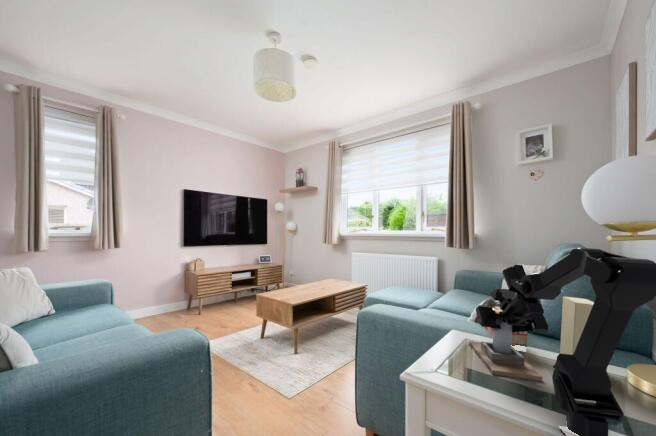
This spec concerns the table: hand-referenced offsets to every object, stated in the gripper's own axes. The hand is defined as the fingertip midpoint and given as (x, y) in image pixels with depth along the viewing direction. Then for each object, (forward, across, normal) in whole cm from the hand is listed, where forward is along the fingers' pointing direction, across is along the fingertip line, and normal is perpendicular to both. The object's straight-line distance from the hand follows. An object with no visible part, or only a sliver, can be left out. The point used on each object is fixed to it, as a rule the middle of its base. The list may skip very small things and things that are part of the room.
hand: (500, 330), depth 89 cm
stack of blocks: (+20, -10, -6) cm, 23 cm away
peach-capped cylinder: (+4, 0, +6) cm, 7 cm away
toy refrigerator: (+7, -24, +6) cm, 26 cm away
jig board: (+6, 0, +7) cm, 9 cm away
